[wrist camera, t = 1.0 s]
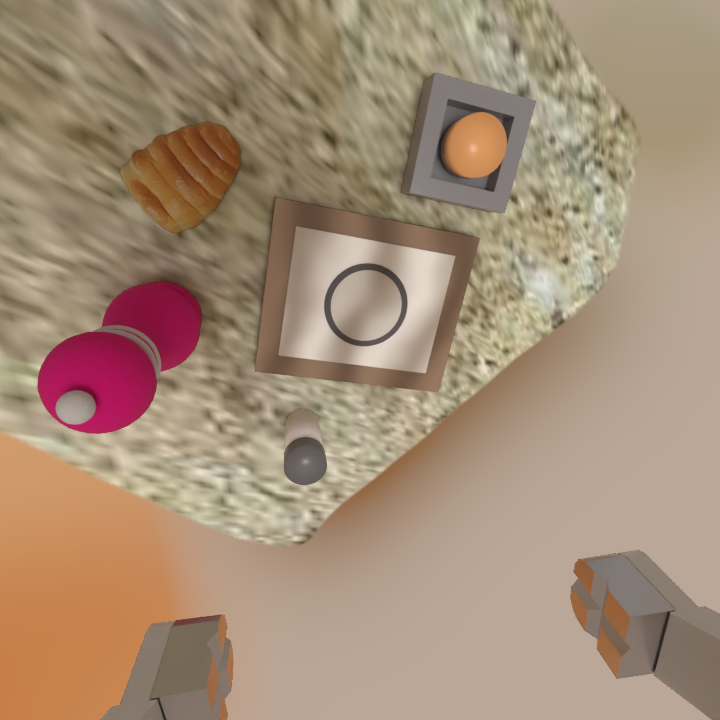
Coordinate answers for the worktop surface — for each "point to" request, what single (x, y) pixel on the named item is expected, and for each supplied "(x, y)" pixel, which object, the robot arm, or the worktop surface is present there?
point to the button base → (435, 115)
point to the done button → (474, 146)
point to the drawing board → (360, 297)
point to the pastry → (183, 174)
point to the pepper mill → (120, 358)
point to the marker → (303, 448)
